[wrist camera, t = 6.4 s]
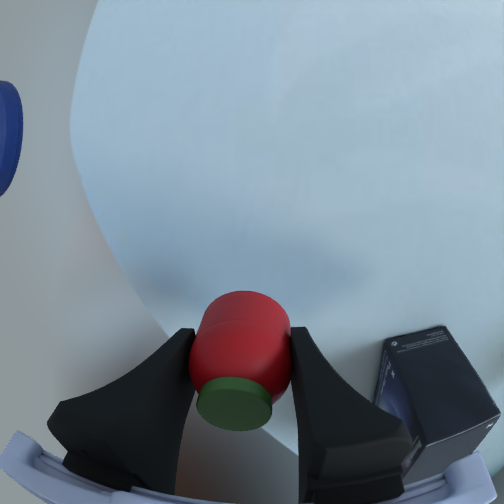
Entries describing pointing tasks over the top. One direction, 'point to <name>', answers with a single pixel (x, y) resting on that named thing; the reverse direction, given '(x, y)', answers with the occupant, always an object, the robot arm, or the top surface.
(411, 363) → the small box
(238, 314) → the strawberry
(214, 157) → the top surface
